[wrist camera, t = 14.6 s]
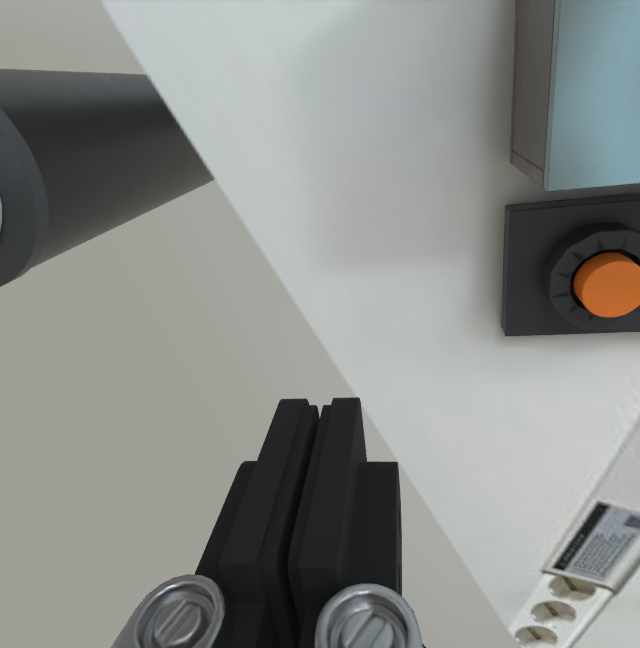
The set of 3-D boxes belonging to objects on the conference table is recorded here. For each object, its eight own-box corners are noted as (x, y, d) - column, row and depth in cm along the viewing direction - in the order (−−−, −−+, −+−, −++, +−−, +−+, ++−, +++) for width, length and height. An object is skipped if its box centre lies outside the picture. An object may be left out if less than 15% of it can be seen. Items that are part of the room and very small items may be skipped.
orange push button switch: (501, 326, 36) (509, 349, 33) (505, 205, 32) (515, 217, 29) (667, 319, 34) (693, 343, 30) (693, 188, 30) (726, 199, 27)
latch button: (570, 307, 31) (578, 319, 30) (575, 254, 30) (584, 263, 28) (632, 304, 30) (644, 316, 29) (641, 249, 29) (654, 259, 27)
